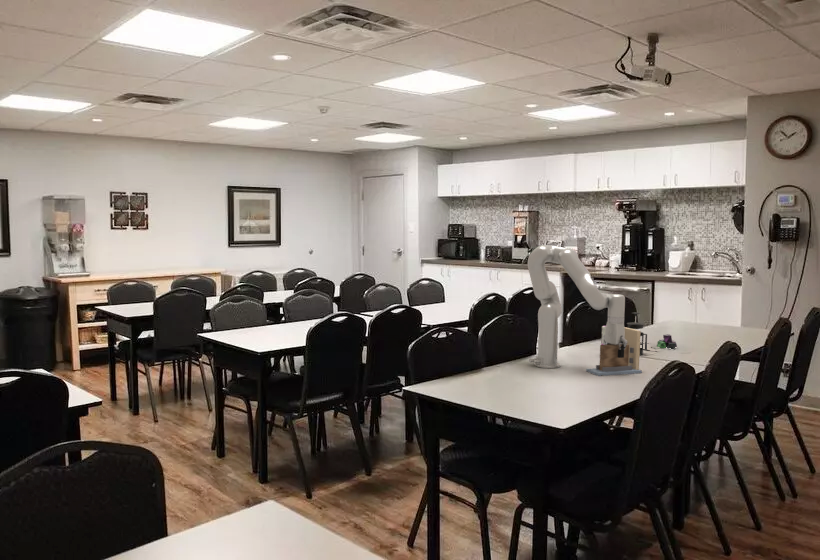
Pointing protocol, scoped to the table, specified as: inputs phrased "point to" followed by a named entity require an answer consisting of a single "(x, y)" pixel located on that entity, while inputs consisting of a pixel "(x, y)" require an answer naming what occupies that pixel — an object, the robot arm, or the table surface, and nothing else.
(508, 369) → the table surface
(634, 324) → the french press
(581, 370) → the table surface
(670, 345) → the mineral sample
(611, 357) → the door
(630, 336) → the cabinet side
